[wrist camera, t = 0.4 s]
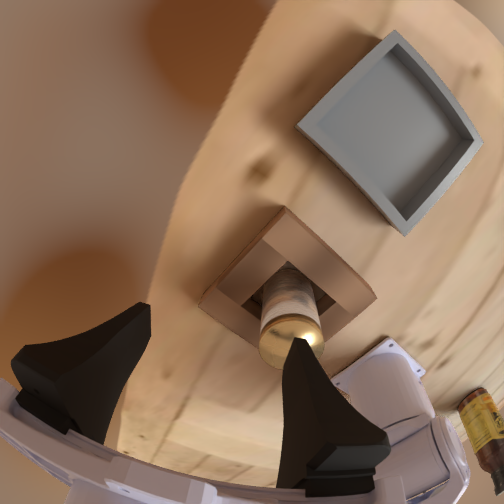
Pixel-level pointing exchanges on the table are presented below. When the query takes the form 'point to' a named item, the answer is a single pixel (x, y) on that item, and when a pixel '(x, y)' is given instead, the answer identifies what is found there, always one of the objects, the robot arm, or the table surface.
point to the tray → (394, 131)
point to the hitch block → (273, 258)
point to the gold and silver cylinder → (288, 316)
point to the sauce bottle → (485, 433)
